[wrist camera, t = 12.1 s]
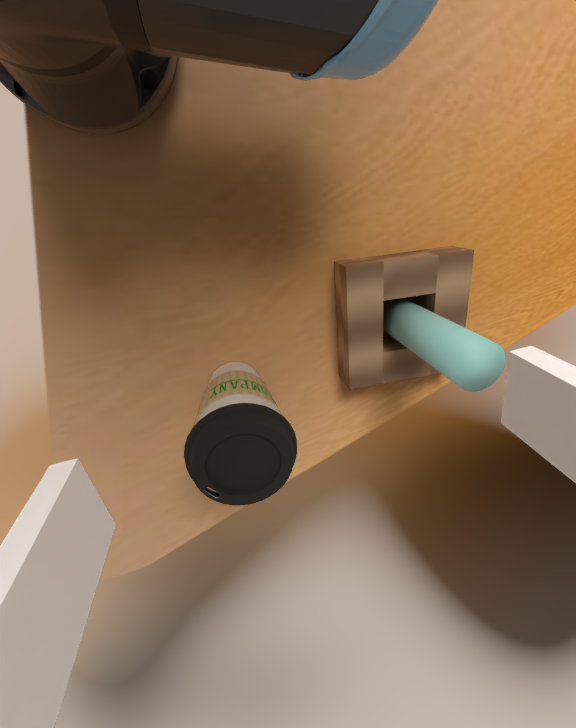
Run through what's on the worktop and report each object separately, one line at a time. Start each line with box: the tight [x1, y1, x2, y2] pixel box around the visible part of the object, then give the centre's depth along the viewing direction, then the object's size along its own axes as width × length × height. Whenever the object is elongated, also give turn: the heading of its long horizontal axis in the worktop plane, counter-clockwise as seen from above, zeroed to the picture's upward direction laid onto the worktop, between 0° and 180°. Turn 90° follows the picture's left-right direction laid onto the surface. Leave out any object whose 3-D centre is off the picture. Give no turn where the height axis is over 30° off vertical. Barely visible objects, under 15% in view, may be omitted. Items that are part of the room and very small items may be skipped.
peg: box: [383, 298, 505, 392], centre depth 36 cm, size 4×4×16 cm
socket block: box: [334, 246, 474, 389], centre depth 42 cm, size 14×14×4 cm
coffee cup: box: [184, 362, 297, 505], centre depth 37 cm, size 10×10×15 cm
